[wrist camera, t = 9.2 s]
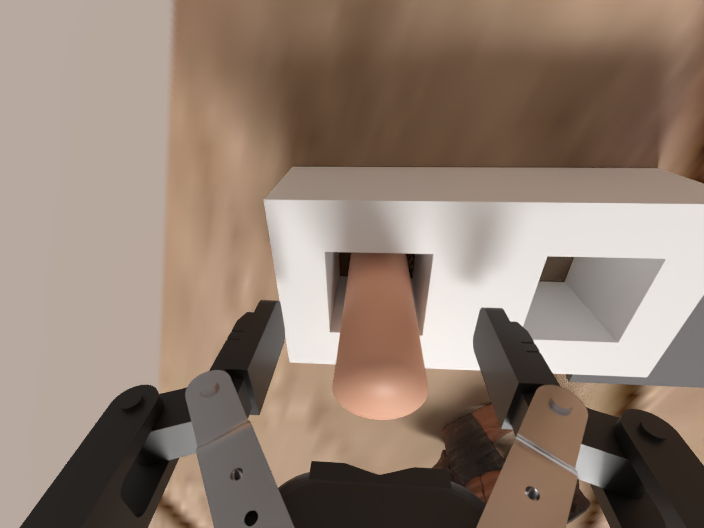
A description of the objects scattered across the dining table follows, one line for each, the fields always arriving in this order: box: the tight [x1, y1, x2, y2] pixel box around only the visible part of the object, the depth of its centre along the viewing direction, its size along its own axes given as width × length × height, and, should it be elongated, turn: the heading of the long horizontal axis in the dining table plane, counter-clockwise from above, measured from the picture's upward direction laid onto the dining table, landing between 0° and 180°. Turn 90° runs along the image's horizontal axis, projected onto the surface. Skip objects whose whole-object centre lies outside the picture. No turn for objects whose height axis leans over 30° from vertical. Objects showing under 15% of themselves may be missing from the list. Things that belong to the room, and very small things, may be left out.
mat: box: [566, 295, 704, 388], centre depth 20 cm, size 9×9×1 cm
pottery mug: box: [432, 404, 590, 524], centre depth 26 cm, size 12×10×8 cm
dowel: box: [333, 252, 428, 420], centre depth 14 cm, size 3×3×10 cm
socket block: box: [264, 167, 704, 377], centre depth 16 cm, size 18×9×5 cm, turn 91°
